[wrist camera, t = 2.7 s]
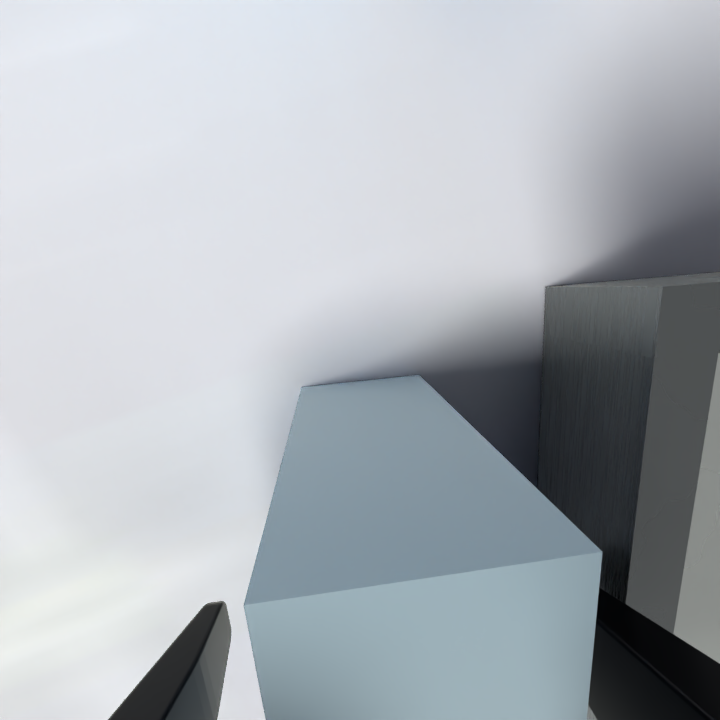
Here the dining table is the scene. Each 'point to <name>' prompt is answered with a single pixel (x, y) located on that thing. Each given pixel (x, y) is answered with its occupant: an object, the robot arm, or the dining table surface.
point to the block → (415, 571)
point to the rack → (639, 440)
